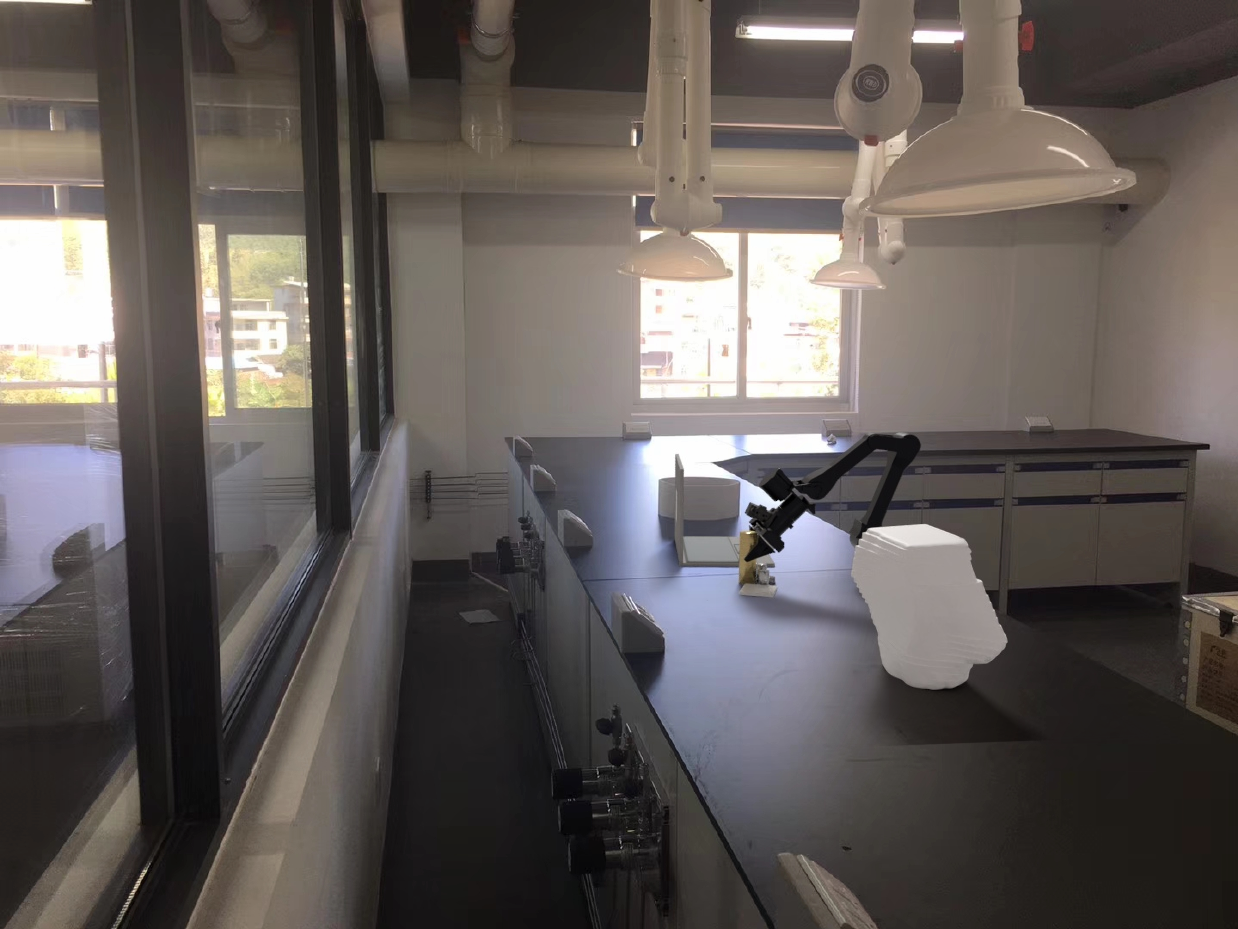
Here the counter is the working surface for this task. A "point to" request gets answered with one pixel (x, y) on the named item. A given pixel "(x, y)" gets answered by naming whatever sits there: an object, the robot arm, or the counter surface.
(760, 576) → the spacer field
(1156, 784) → the counter surface
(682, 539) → the laptop
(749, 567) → the brass tube
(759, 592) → the tile
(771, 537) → the robot arm
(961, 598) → the paper stack
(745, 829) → the counter surface
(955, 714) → the counter surface
